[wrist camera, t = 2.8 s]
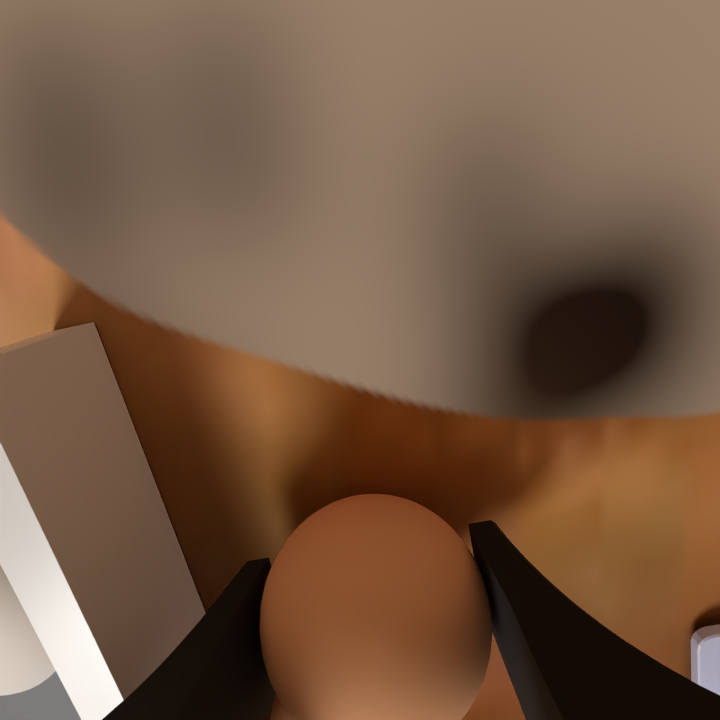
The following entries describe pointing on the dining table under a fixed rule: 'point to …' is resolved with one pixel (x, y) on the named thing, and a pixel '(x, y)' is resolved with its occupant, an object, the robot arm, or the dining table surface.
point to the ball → (375, 615)
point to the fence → (86, 522)
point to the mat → (27, 667)
